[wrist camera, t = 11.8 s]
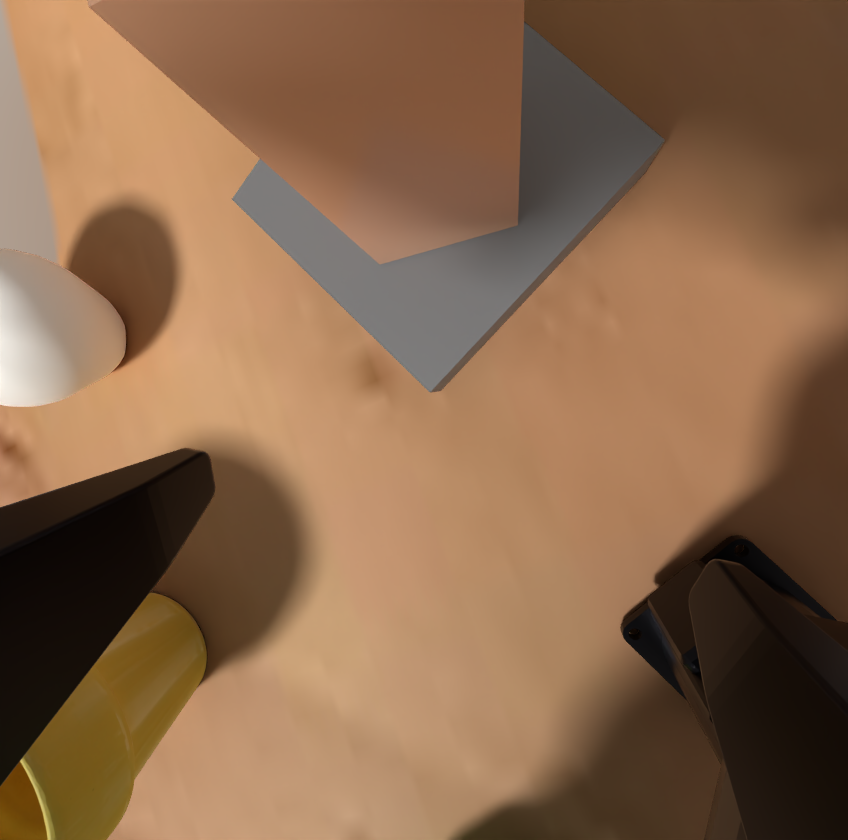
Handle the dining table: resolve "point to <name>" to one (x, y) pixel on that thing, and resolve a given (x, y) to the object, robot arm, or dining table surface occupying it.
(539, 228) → the flat gray slab
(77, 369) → the plain white apple
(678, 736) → the dining table surface
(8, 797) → the plant pot
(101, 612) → the robot arm
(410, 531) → the dining table surface
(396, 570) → the dining table surface
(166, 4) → the tan rectangular block
